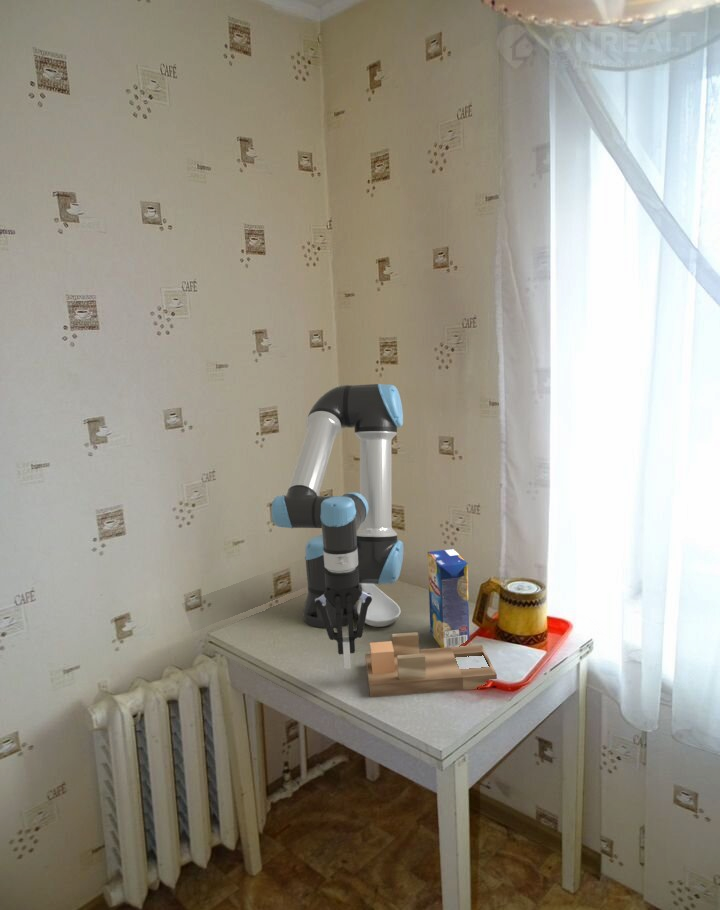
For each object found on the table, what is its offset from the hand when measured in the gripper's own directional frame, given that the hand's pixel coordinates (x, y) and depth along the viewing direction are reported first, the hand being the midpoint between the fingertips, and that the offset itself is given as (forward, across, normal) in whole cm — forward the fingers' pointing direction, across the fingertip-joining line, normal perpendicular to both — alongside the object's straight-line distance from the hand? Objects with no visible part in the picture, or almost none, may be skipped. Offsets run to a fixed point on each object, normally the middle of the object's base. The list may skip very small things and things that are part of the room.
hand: (347, 665), depth 153 cm
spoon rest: (+4, +8, +36) cm, 37 cm away
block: (+1, +8, 0) cm, 8 cm away
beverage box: (+4, +26, +17) cm, 32 cm away
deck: (+4, +18, 0) cm, 19 cm away
